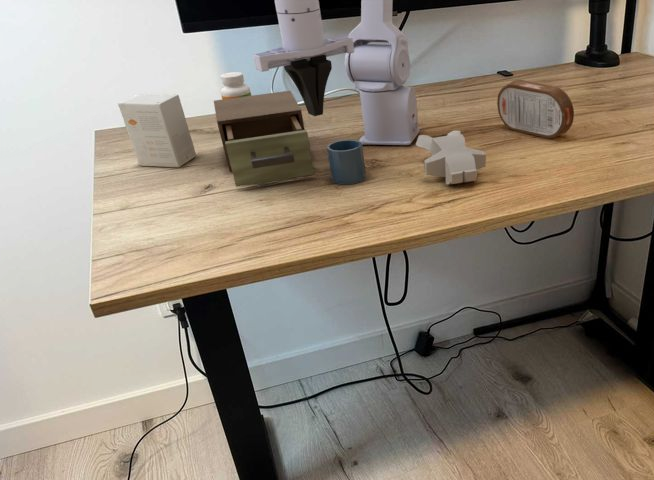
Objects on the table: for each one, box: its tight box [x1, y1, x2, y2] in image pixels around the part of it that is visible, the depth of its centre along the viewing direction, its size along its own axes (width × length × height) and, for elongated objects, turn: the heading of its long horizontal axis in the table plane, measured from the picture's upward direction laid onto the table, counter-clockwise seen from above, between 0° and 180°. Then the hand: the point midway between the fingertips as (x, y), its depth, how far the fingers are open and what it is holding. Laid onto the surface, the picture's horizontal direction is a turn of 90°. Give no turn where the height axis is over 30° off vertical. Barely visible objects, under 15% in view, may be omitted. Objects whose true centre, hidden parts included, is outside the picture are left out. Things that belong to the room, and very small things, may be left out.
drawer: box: [225, 115, 315, 188], centre depth 101 cm, size 17×12×7 cm
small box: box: [117, 93, 197, 168], centre depth 109 cm, size 8×6×10 cm
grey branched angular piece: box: [415, 130, 487, 186], centre depth 101 cm, size 10×5×15 cm
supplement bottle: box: [220, 71, 252, 100], centre depth 124 cm, size 5×5×10 cm
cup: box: [326, 139, 367, 186], centre depth 100 cm, size 5×5×5 cm
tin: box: [496, 79, 575, 140], centre depth 113 cm, size 15×3×8 cm, turn 47°
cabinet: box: [213, 90, 306, 173], centre depth 111 cm, size 13×13×8 cm
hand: (315, 114), depth 95 cm, fingers closed
